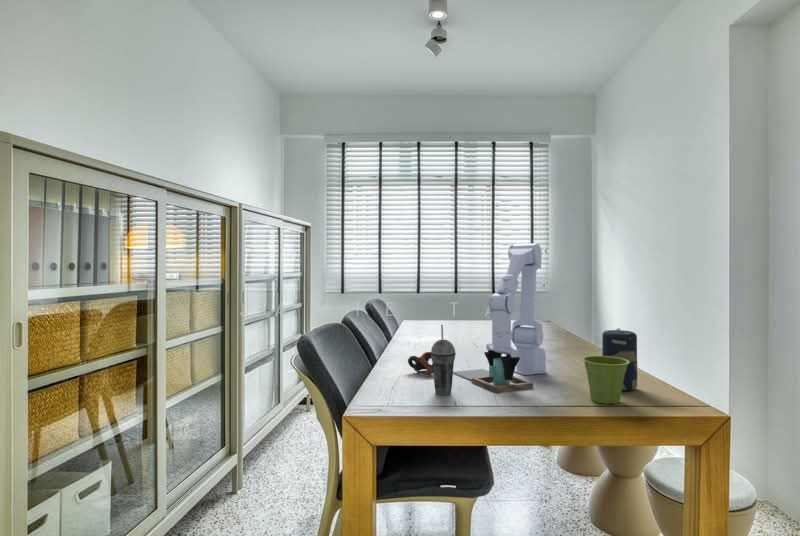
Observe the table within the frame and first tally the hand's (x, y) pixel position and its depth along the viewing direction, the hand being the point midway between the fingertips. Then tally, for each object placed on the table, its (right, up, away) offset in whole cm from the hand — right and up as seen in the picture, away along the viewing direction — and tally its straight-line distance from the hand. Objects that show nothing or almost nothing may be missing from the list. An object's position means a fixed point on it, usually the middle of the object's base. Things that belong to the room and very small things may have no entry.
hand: (501, 376), depth 154 cm
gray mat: (-6, -2, +14) cm, 15 cm away
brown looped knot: (-23, -3, +17) cm, 29 cm away
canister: (+34, -3, -5) cm, 35 cm away
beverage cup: (-19, -3, -10) cm, 21 cm away
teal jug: (0, -3, 0) cm, 3 cm away
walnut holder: (0, -3, 0) cm, 2 cm away
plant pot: (+24, -3, -18) cm, 31 cm away
